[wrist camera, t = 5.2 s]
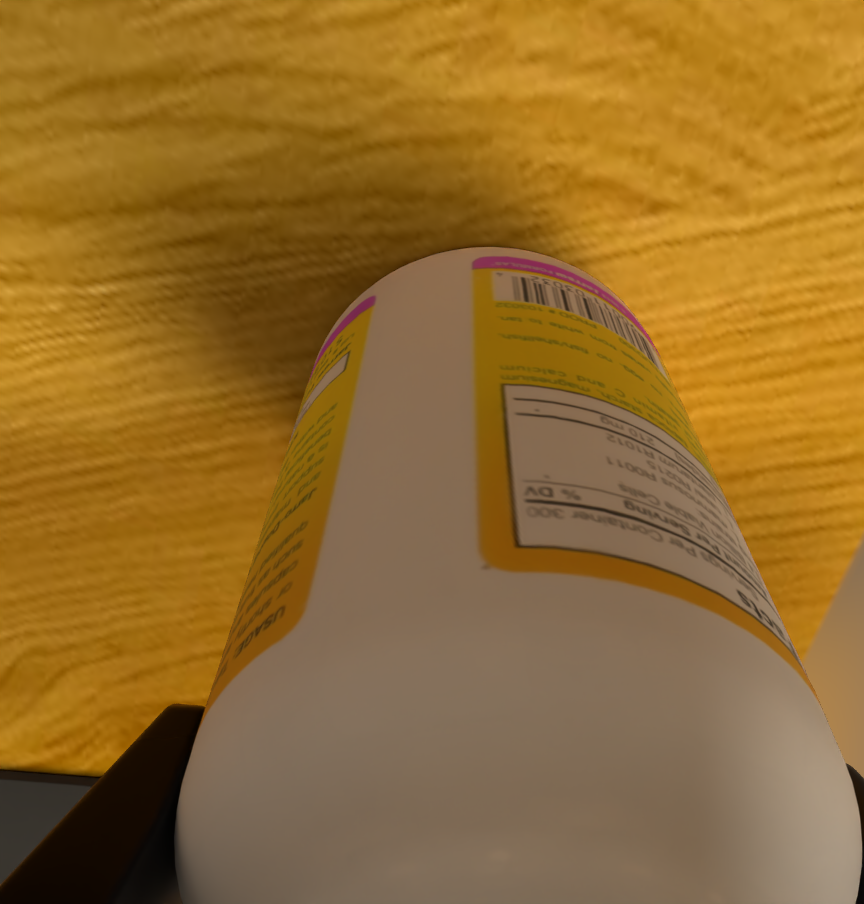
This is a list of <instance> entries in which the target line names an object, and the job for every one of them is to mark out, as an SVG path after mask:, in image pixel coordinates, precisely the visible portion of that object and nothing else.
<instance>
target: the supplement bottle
mask: <svg viewBox="0 0 864 904" xmlns="http://www.w3.org/2000/svg"><path fill="white" fill-rule="evenodd" d="M174 850H175V868H176V874H177V880H178V885H179V891H180V896H181V899H182V902H183V904H855V903H856V899H857V896H858V889H859V882H860V875H861V868H862V836H861V823H860V815H859V808H858V804H857V800H856V795H855V791H854V787H853V783H852V780H851V777H850V775H849V772H848V769H847V766H846V764H845V761H844V759H843V756H842V754H841V752H840V750H839V747H838V745H837V742H836V740H835V738H834V736H833V733H832V731H831V728H830V726H829V724H828V721H827V719H826V716H825V714H824V712H823V709H822V707H821V704H820V702H819V700H818V697H817V695H816V692H815V690H814V688H813V687H812V685H811V683H810V681H809V679H808V676H807V674H806V671H805V669H804V667H803V665H802V663H801V661H800V659H799V656H798V654H797V652H796V650H795V648H794V646H793V644H792V642H791V640H790V638H789V635H788V633H787V631H786V629H785V627H784V625H783V622H782V620H781V618H780V616H779V614H778V611H777V609H776V607H775V605H774V603H773V601H772V599H771V597H770V594H769V592H768V590H767V588H766V586H765V584H764V582H763V580H762V577H761V575H760V573H759V571H758V569H757V566H756V564H755V562H754V560H753V558H752V555H751V553H750V551H749V549H748V547H747V544H746V542H745V540H744V538H743V536H742V534H741V531H740V529H739V527H738V525H737V523H736V521H735V518H734V516H733V514H732V511H731V509H730V507H729V505H728V502H727V500H726V498H725V496H724V493H723V491H722V489H721V487H720V485H719V483H718V480H717V478H716V476H715V474H714V472H713V469H712V467H711V465H710V463H709V460H708V458H707V456H706V454H705V452H704V450H703V448H702V446H701V444H700V442H699V439H698V437H697V435H696V433H695V431H694V428H693V426H692V424H691V422H690V420H689V417H688V415H687V413H686V411H685V408H684V406H683V404H682V402H681V400H680V398H679V396H678V393H677V391H676V389H675V387H674V385H673V383H672V381H671V378H670V376H669V374H668V372H667V370H666V368H665V366H664V364H663V362H662V360H661V358H660V356H659V353H658V351H657V349H656V348H655V346H654V344H653V343H652V341H651V339H650V338H649V336H648V334H647V333H646V331H645V330H644V328H643V327H642V325H641V324H640V322H639V321H638V319H637V318H636V317H635V315H634V314H633V313H632V312H631V311H630V310H629V308H628V307H627V306H626V305H625V304H624V302H623V301H622V300H621V299H620V298H618V297H617V296H616V295H615V294H614V293H613V292H612V291H611V290H610V289H609V288H607V287H606V286H605V285H604V284H602V283H601V282H599V281H598V280H596V279H595V278H593V277H592V276H590V275H589V274H587V273H586V272H584V271H582V270H580V269H578V268H576V267H574V266H572V265H570V264H567V263H565V262H563V261H560V260H558V259H555V258H552V257H549V256H546V255H543V254H539V253H536V252H531V251H526V250H521V249H516V248H501V247H474V248H464V249H457V250H452V251H447V252H442V253H437V254H434V255H431V256H428V257H425V258H422V259H419V260H417V261H414V262H412V263H409V264H407V265H405V266H403V267H401V268H399V269H397V270H395V271H393V272H391V273H390V274H388V275H386V276H385V277H383V278H382V279H381V280H379V281H378V282H376V283H375V284H374V285H372V286H371V287H370V288H369V289H367V290H366V291H365V292H363V293H362V294H361V295H360V296H359V297H358V298H357V299H356V300H355V301H354V302H353V303H352V304H351V305H350V306H349V307H348V308H347V309H346V310H345V312H344V313H343V314H342V315H341V316H340V318H339V319H338V321H337V322H336V323H335V325H334V326H333V328H332V329H331V331H330V333H329V334H328V336H327V338H326V340H325V342H324V344H323V346H322V348H321V350H320V352H319V354H318V356H317V359H316V362H315V365H314V367H313V370H312V373H311V376H310V379H309V382H308V385H307V387H306V390H305V394H304V397H303V400H302V404H301V407H300V410H299V413H298V417H297V420H296V423H295V426H294V429H293V433H292V436H291V439H290V442H289V446H288V449H287V452H286V455H285V458H284V461H283V464H282V467H281V471H280V474H279V477H278V480H277V484H276V487H275V490H274V493H273V496H272V499H271V502H270V506H269V509H268V512H267V516H266V519H265V522H264V525H263V529H262V532H261V535H260V538H259V541H258V544H257V547H256V550H255V553H254V557H253V560H252V564H251V567H250V570H249V574H248V577H247V580H246V583H245V587H244V590H243V593H242V596H241V599H240V602H239V606H238V609H237V612H236V615H235V618H234V621H233V624H232V627H231V630H230V634H229V637H228V640H227V643H226V646H225V649H224V652H223V655H222V658H221V661H220V665H219V668H218V671H217V674H216V677H215V680H214V683H213V686H212V689H211V692H210V695H209V698H208V701H207V704H206V707H205V711H204V714H203V717H202V720H201V723H200V726H199V729H198V732H197V735H196V738H195V742H194V745H193V749H192V752H191V755H190V759H189V762H188V765H187V768H186V772H185V775H184V778H183V781H182V785H181V790H180V795H179V801H178V806H177V812H176V821H175V832H174Z"/></svg>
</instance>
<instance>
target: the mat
mask: <svg viewBox="0 0 864 904" xmlns="http://www.w3.org/2000/svg"><path fill="white" fill-rule="evenodd" d="M99 779H100V778H89V777H77V776H64V775H52V774H39V773H27V772H14V771H2V770H0V885H1V884H2V882H3V881H4V880H5V879H6V878H7V877H8V876H9V875H10V874H11V873H12V872H13V871H14V870H15V869H16V868H17V866H18V865H19V864H20V863H21V862H22V861H23V860H24V859H25V858H26V857H27V856H28V855H29V854H30V853H31V852H32V850H33V849H34V848H35V847H36V846H37V845H38V844H39V843H40V842H41V841H42V840H43V839H44V838H45V837H46V836H47V834H48V833H49V832H50V831H51V830H52V829H53V828H54V827H55V826H56V825H57V824H58V823H59V822H60V821H61V820H62V818H63V817H64V816H65V815H66V814H67V813H68V812H69V811H70V810H71V809H72V808H73V807H74V806H75V805H76V804H77V802H78V801H79V800H80V799H81V798H82V797H83V796H84V795H85V794H86V793H87V792H88V791H89V790H90V789H91V788H92V786H93V785H94V784H95V783H96V782H97V781H98V780H99ZM182 904H183V902H182Z"/></svg>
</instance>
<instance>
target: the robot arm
mask: <svg viewBox="0 0 864 904" xmlns="http://www.w3.org/2000/svg"><path fill="white" fill-rule="evenodd" d="M204 711H205V707H204V706H199V705H188V704H172V705H170V706H168V707H167V708H166V709H165V710H164V711H163V712H162V713H161V714H160V715H159V716H158V717H157V718H156V719H155V720H154V721H153V722H152V723H151V725H150V726H149V727H148V728H147V729H146V730H145V731H144V732H143V733H142V734H141V735H140V736H139V737H138V738H137V739H136V741H135V742H134V743H133V744H132V745H131V746H130V747H129V748H128V749H127V750H126V751H125V752H124V753H123V754H122V755H121V757H120V758H119V759H118V760H117V761H116V762H115V763H114V764H113V765H112V766H111V767H110V768H109V769H108V770H107V772H106V773H105V774H104V775H103V776H102V777H101V778H100V779H99V780H98V781H97V782H96V783H95V784H94V785H93V786H92V788H91V789H90V790H89V791H88V792H87V793H86V794H85V795H84V796H83V797H82V798H81V799H80V800H79V801H78V802H77V804H76V805H75V806H74V807H73V808H72V809H71V810H70V811H69V812H68V813H67V814H66V815H65V816H64V817H63V818H62V820H61V821H60V822H59V823H58V824H57V825H56V826H55V827H54V828H53V829H52V830H51V831H50V832H49V833H48V834H47V836H46V837H45V838H44V839H43V840H42V841H41V842H40V843H39V844H38V845H37V846H36V847H35V848H34V849H33V850H32V852H31V853H30V854H29V855H28V856H27V857H26V858H25V859H24V860H23V861H22V862H21V863H20V864H19V865H18V866H17V868H16V869H15V870H14V871H13V872H12V873H11V874H10V875H9V876H8V877H7V878H6V879H5V880H4V881H3V882H2V884H1V885H0V904H182V899H181V896H180V891H179V885H178V880H177V874H176V868H175V850H174V832H175V821H176V812H177V806H178V801H179V795H180V790H181V785H182V781H183V778H184V775H185V772H186V768H187V765H188V762H189V759H190V755H191V752H192V749H193V745H194V742H195V738H196V735H197V732H198V729H199V726H200V723H201V720H202V717H203V714H204ZM845 764H846V763H845ZM846 766H847V769H848V772H849V775H850V777H851V780H852V783H853V787H854V791H855V795H856V800H857V804H858V808H859V815H860V823H861V836H862V868H861V875H860V882H859V889H858V896H857V899H856V903H855V904H864V778H863V777H862V776H861V775H860V774H859V773H858V772H857V771H856V770H855V769H854V768H853V767H851V766H850V765H848V764H846Z"/></svg>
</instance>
